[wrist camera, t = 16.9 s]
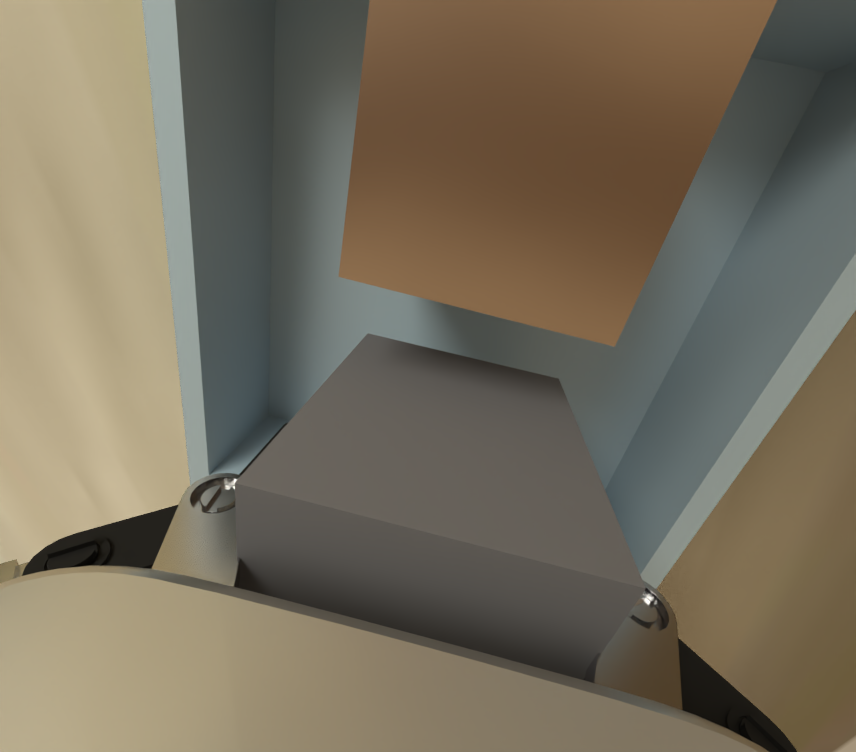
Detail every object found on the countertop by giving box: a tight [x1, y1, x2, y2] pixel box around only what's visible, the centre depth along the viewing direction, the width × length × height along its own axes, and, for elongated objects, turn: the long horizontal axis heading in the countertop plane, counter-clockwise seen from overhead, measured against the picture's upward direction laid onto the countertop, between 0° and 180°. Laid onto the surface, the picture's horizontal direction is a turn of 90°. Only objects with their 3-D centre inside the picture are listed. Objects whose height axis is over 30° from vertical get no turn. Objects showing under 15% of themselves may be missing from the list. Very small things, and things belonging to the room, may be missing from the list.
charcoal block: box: [235, 333, 646, 680], centre depth 10 cm, size 6×6×7 cm
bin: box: [142, 0, 856, 589], centre depth 13 cm, size 18×18×5 cm
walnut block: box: [339, 0, 777, 347], centre depth 10 cm, size 6×6×7 cm
